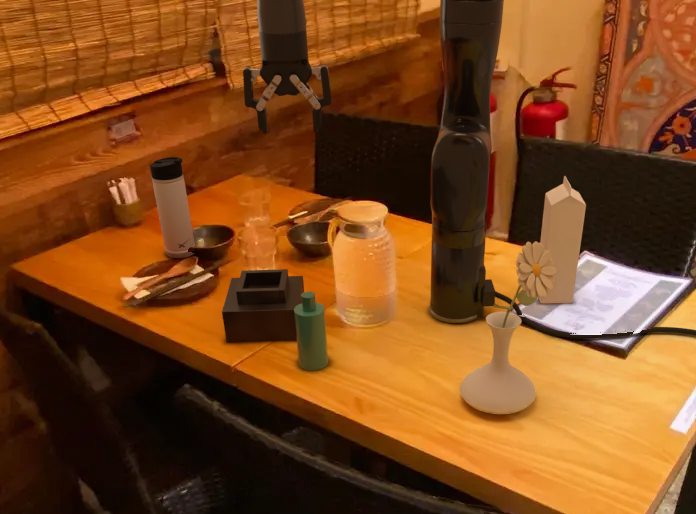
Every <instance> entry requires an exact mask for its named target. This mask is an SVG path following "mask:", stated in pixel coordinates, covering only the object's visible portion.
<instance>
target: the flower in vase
mask: <svg viewBox="0 0 696 514" xmlns="http://www.w3.org/2000/svg"><path fill="white" fill-rule="evenodd" d="M515 266H516V267H517V268H516V269H515V271H516V272H515V273H516V275H517V284H518V286H517V289H516V292H515V294H514V296H513V299H512V302H511V305H510V304H509V306H506V305H499V304H498V303H496V302H495V304H494V306H492V307H493V308H495V309H503V310H507V311H495V312H492V313H489V314H488V315H487V316H486V317H485V322H486V324H487V325H488V326H489V328H490V330H491V333H492V340H493V341H492V342H493V349H492V351H493V352H492V357H491V360H490V362H488V363H487V364H484V365H482V366H479V367H477V368H475V369H473V370H472V371H471V372H469V373H468V374H466V375H465V376H464V378H463V379H462V382H461V384H460V386H459V393H460V395H461V397H462V399H463V400H464V401H465V402H466V404H468V405H469V406H470V407H471V408H473V409H475V410H477V411H480V412H482V413H486V414H493V415H509V414H516V413H518V412H521V411H523V410H525V409H526V408H528V407H529V406H530V405H532V404H533V402H534V401H535V399H536V396H537V391H536V388H535V385H534V382H533V381H532V379H531V378H530V377H529V376H528V375H526V374H525V373H524V372H523V371H522V370H520V369H518V368H517V367H515V366H513V365H512V364H511V363H510V359H509V353H510V345H511V340H512V338H513V334H514V332H515V331H516V329H517V328H518V327H519V326H520V325H521V324H522V320H521V318H520V317H519V316H518V315H517V314H515V313H513V312H511V310H512V309H513V307H512V306H513V304H514V302H516V299H517V301H518V302H519V303H520V304H521V305H522V306H524V307H528V306H531V305H533V304H534V303H536V301H537V300H538V299H539V298H542V297H544V298H546V297H547V293H548V291H547V289H549V290H553V284H554V283H555V278H554V276H553V275H555V274H556V273H557V270H556V268H554V267H553V266H554V261H553V260H552V258H551V253H550V252H549V251H546V250H544V246H543V245H542V243H540V242H538V241H534V242H533V243H532V242H530V241H527V242H526V243H525V244H524V245H523V246H522V248H521V252H518V253H517V258H516V261H515ZM538 297H539V298H538Z"/></svg>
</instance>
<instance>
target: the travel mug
mask: <svg viewBox="0 0 696 514" xmlns="http://www.w3.org/2000/svg"><path fill="white" fill-rule="evenodd" d="M182 163H183V158H181V157H179V156H169V157H168V156H167V157H163V158H160V159H156V160H154V161H153V162H152V163H150V164H149V171H150V175H151V182H152V188H153V192H154V198H155V203H156V209H157V214H158V219H159V224H160V230H161V235H162V241H163V245H164V251H165V255H166V256H167V257H169V258H171V259H185V258H186V259H187V258H189V257H191V256H193V255H194V254H195V253H192V252H188V249H189V248H190V247H194V246H195V247H196V242H195V237H194V231H193V224H192V219H191V213H190V206H189V201H188V195H187V189H186V188H187V187H186V183H185V177H184V171H183V166H182Z"/></svg>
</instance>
